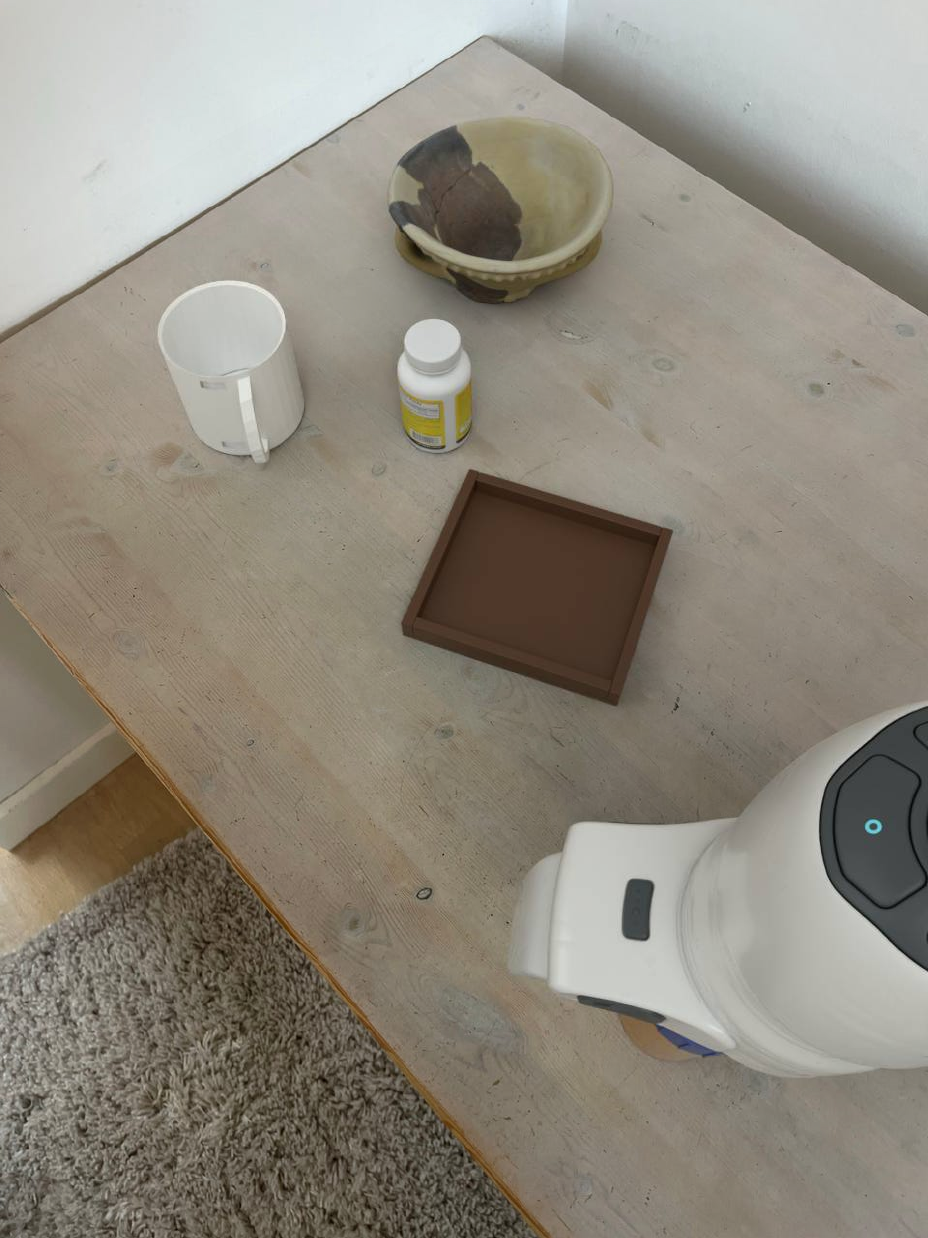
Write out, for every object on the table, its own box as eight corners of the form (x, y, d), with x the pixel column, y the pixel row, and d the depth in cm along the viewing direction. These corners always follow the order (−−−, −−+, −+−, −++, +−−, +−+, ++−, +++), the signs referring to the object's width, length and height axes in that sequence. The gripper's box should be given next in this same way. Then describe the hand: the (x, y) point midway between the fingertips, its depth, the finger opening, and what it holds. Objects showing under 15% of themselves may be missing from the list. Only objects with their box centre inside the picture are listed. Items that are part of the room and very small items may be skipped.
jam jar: (730, 975, 59) (788, 945, 48) (705, 1078, 56) (762, 1071, 45) (633, 939, 60) (669, 901, 49) (605, 1039, 57) (637, 1023, 46)
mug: (190, 372, 79) (158, 286, 71) (302, 361, 80) (283, 274, 72) (190, 495, 74) (155, 417, 66) (310, 482, 75) (290, 404, 66)
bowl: (607, 211, 88) (622, 114, 79) (589, 366, 80) (604, 276, 71) (413, 192, 89) (408, 94, 80) (376, 342, 81) (366, 251, 72)
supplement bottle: (457, 392, 78) (455, 302, 70) (482, 443, 76) (483, 356, 67) (393, 411, 78) (383, 323, 69) (416, 464, 75) (409, 379, 67)
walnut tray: (668, 544, 72) (673, 529, 70) (616, 706, 66) (620, 695, 64) (469, 484, 74) (469, 468, 73) (402, 635, 69) (401, 622, 67)
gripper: (1077, 909, 36) (921, 960, 49) (532, 812, 38) (515, 885, 50) (1095, 1096, 34) (925, 1099, 46) (506, 981, 35) (495, 1015, 48)
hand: (707, 986), depth 48 cm, fingers closed on jam lid, 6 cm apart
